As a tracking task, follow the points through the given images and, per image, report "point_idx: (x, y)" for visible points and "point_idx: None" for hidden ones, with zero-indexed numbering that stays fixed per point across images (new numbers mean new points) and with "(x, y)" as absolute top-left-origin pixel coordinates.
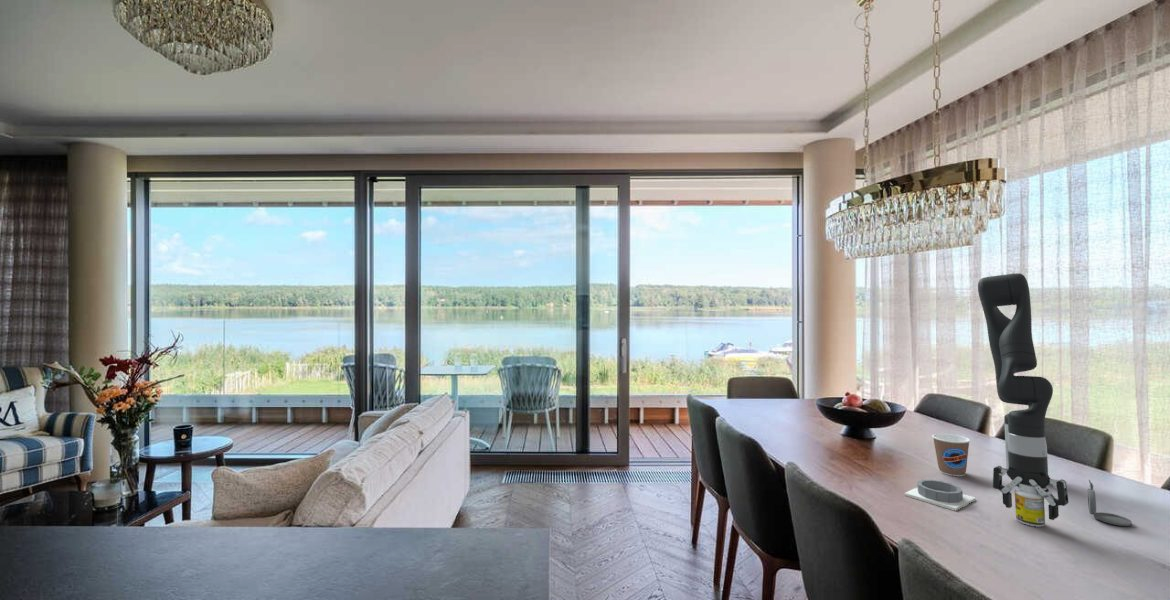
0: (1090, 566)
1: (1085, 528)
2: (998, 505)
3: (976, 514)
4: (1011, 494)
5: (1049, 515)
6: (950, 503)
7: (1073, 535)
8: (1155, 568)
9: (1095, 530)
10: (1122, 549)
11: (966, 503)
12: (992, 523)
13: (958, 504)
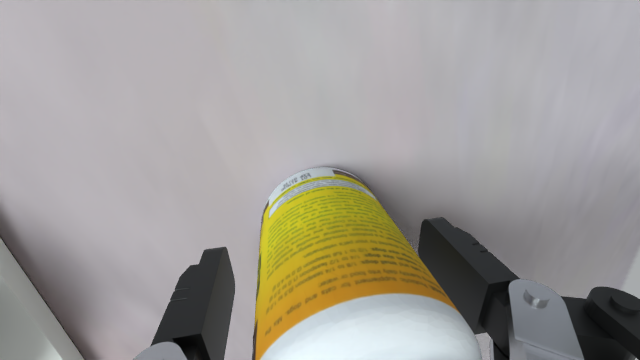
0: None
1: (509, 39)
2: (70, 89)
3: (147, 321)
4: (206, 323)
5: (432, 273)
6: (3, 356)
7: (465, 195)
8: (634, 241)
9: (547, 23)
10: (595, 176)
11: (11, 277)
12: (240, 341)
13: (28, 336)
